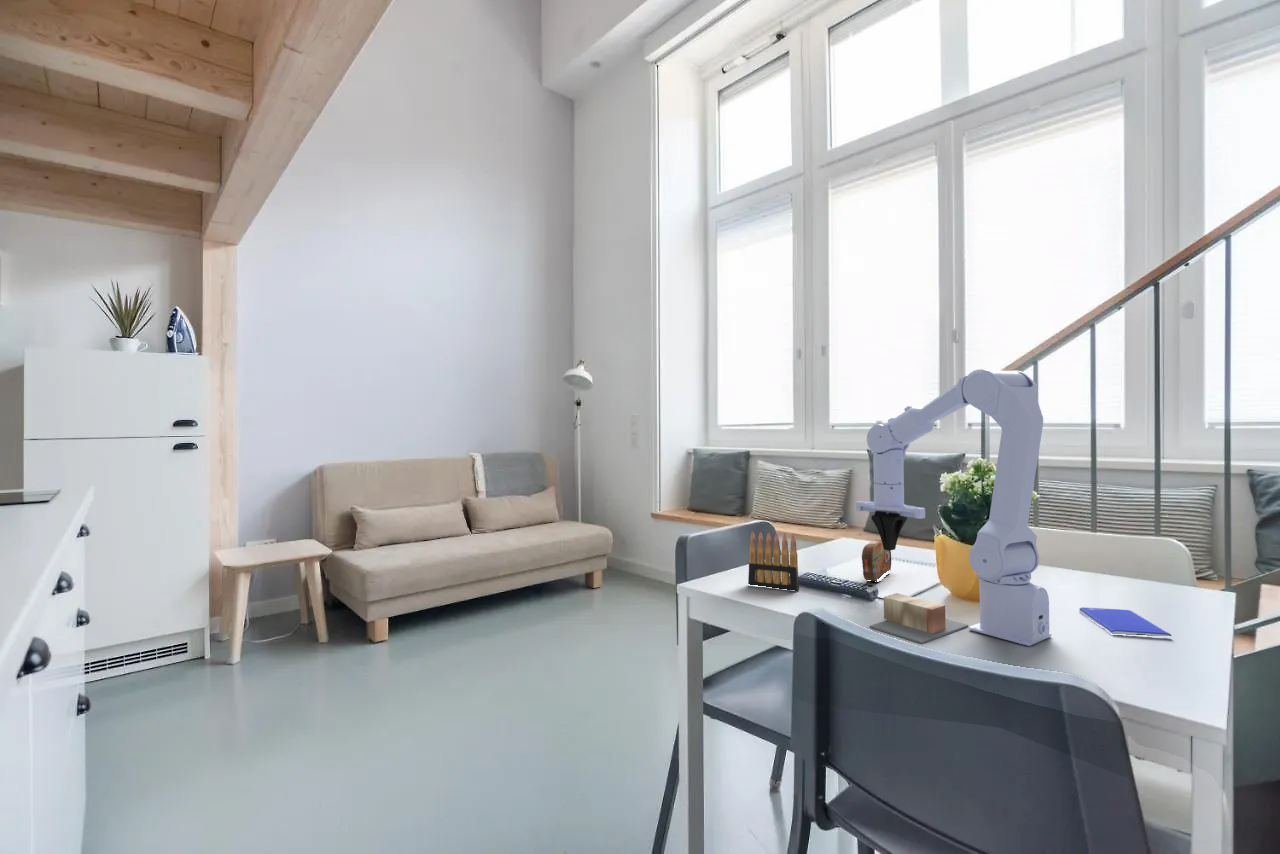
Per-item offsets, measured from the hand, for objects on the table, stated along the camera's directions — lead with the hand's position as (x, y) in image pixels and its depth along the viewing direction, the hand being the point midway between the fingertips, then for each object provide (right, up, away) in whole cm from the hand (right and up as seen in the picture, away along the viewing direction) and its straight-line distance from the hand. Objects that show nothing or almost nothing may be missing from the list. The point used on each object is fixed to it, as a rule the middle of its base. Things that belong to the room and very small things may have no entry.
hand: (889, 549), depth 122 cm
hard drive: (+32, -10, -19) cm, 39 cm away
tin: (+3, -10, +14) cm, 17 cm away
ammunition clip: (-22, -10, +7) cm, 25 cm away
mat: (-3, -10, -19) cm, 21 cm away
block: (-6, -7, -15) cm, 17 cm away
